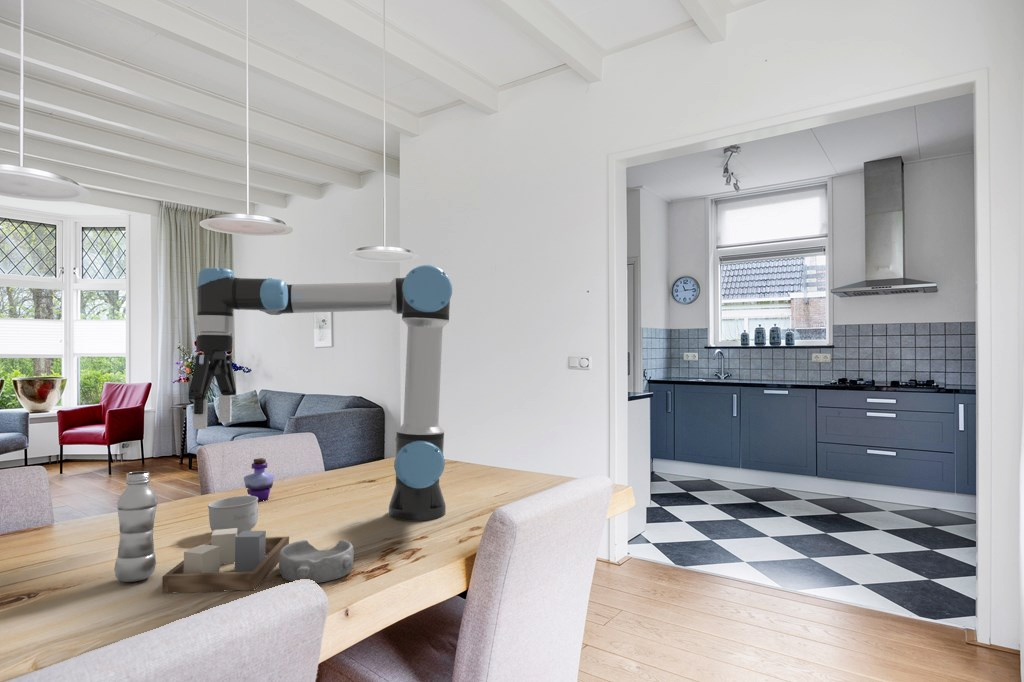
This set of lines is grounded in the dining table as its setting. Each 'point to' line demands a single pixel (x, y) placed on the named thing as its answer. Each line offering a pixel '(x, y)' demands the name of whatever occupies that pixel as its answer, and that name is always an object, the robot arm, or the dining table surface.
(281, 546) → the parts tray
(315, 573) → the dish
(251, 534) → the gray block
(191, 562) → the white block
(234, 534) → the white block
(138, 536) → the plastic bottle
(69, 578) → the dining table surface
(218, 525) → the teacup
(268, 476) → the potion bottle
